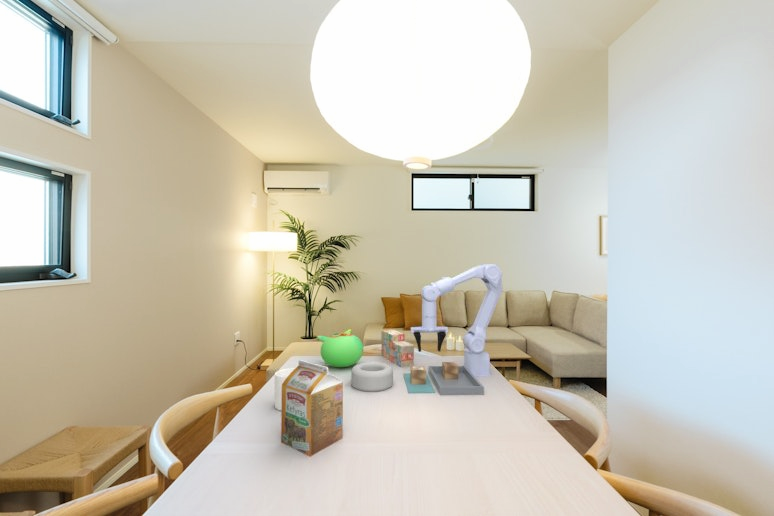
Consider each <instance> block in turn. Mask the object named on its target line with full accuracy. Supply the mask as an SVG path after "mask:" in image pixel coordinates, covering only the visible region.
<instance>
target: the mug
mask: <svg viewBox="0 0 774 516" xmlns="http://www.w3.org/2000/svg"><path fill="white" fill-rule="evenodd" d="M294 369H295V367H293V368H282V369H279V370H276V371H275V373H274V407H275V409H276V410H277V411H280V412H281V410H282V384H283V382H284V381H285V379H286V378H287V377H288V376H289V375H290V373H291V372H292V371H293V370H294Z"/></svg>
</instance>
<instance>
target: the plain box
mask: <svg viewBox="0 0 774 516" xmlns="http://www.w3.org/2000/svg"><path fill="white" fill-rule="evenodd" d="M441 366H442V376H443V377H444V379H458V366H459V365H458V364H457V362H456V361H443V362H441Z"/></svg>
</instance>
